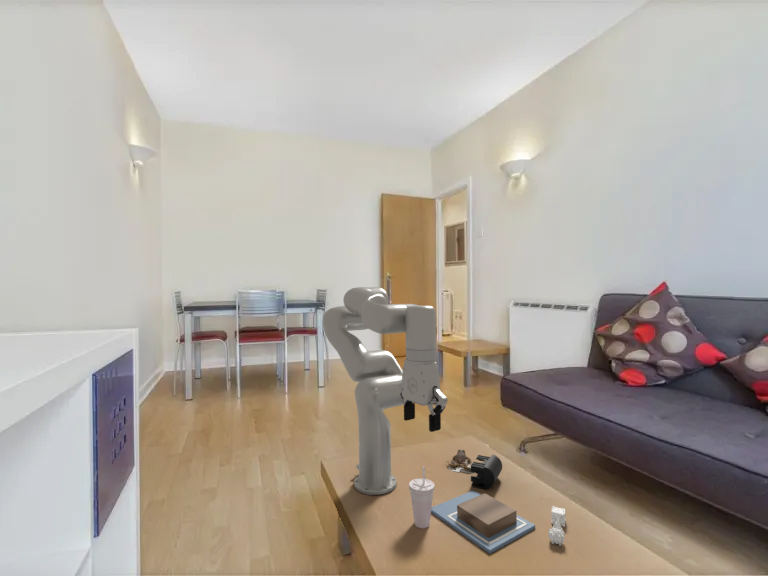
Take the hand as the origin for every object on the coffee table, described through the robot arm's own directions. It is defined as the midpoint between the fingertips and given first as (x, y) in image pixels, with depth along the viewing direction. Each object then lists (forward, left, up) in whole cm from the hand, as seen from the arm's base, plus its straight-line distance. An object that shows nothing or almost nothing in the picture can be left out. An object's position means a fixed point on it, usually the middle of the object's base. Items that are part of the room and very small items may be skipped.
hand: (421, 424), depth 96 cm
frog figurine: (-18, +31, -25) cm, 44 cm away
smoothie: (0, 0, -25) cm, 25 cm away
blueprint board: (+7, +13, -24) cm, 28 cm away
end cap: (-5, +29, -25) cm, 38 cm away
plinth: (+9, +13, -24) cm, 29 cm away
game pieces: (+21, +24, -25) cm, 40 cm away
